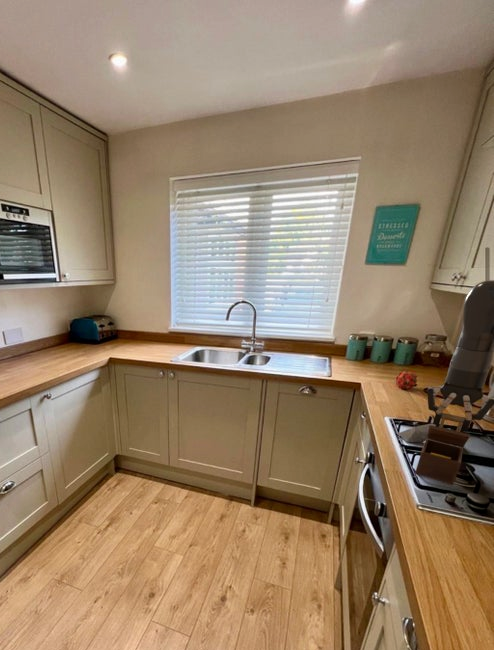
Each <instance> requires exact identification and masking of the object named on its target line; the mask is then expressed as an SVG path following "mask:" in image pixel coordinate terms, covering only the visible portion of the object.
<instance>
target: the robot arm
mask: <svg viewBox="0 0 494 650" xmlns="http://www.w3.org/2000/svg"><path fill="white" fill-rule="evenodd" d="M493 361H494V279H490V280H489V279H488V280H484V281H480V282H479V283H476V284H475V285H474V286H473V287H472V288H471V289H470V290H469V291H468V293H467V295H466V297H465V300H464V303H463V311H462V328H461V332H460V335H459V337H458V341H457V345H456V348H455V350H454V352H453V355H452V356H451V360H450V363H449V366H448V370H447V373H446V377H445V380H444V383H443V384H442V385H441V386H437V387H434V386H432V385H431V386H429V387H428V388H427V390H426V393H427V407H428V408H427V409H428V410H429V411H432V412H434V413H435V415H434V417H433V421H432V423H433V424H435V426H436V427H439V426H440V423H441V417H442V414H443V413H444V411H445V410H446V409H447V408H448V406H449V405H450V406H458V407H462V408H463V409H464V417H465V419H464V422H463V423H462V426H461V429H460V432H462V433H467V432H468V431H469V428H470V426H471V422H472V421H482V420H483V419H484V417H485V416H486V415H487V414H488V412H489V411H491V409H492V408H493V406H494V396H488V395H485V394H484V392H483V389H484V387H485V383H486V381H487V377H488V374H489V372H490V370H491V368H492V363H493ZM439 392H440V393H441V396H442V398H443V400H442V401H441V402H440V403H439V405H436V398H435V397H436V396H437V395H438V393H439ZM480 400H481V404H482V406H481V407H480V409H478V411H477V412H476V413H473V408H472V407H473V406H472V405H473V404H475V403H476V402H478V401H480Z"/></svg>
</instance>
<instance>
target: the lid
mask: <svg viewBox="0 0 494 650" xmlns="http://www.w3.org/2000/svg"><path fill="white" fill-rule="evenodd" d="M442 413H443V414H442V417H441V420H440V423H439V427H436V426H432V425H429V429H428V433H427V439H430V440H434V441H438V442H442V443H446V444H450V445H454V446H458V447H462V448H464V447H465V446H466V443H467V442H468V440H469V439H470V437H471V434H470V433H467V432H463V433H462V432H460V429H461V426H462V423H463V422H464V419H465V416H461V415H455V414H451V413H445V412H442ZM445 421H450V422H453V423H454V422H455V423H457V426H456V430H453V429H448V428H444V424H445Z"/></svg>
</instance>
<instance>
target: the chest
mask: <svg viewBox="0 0 494 650" xmlns="http://www.w3.org/2000/svg"><path fill="white" fill-rule="evenodd" d="M463 451H464V447H459V446H455V445H451V444H447V443H443V442H439V441H435V440H431V439H426V440H425V441H424V444H423V447H422V449H421V452H420V455H419V459H418V462H417V466H416V469H415V473H416V475H418V476H422V477H425V478H428V479H432V480H435V481H438V482H441V483H444V484H448V485H451V486H454V484H455V481H456V478H457V475H458V473H459V469H460V467H461V464H462V458H463ZM431 452H432V453H435V454H439V455H443V456H446V457H450V458H451V459H448V458H444V457H440V456H437V455H433V454H431Z"/></svg>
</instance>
